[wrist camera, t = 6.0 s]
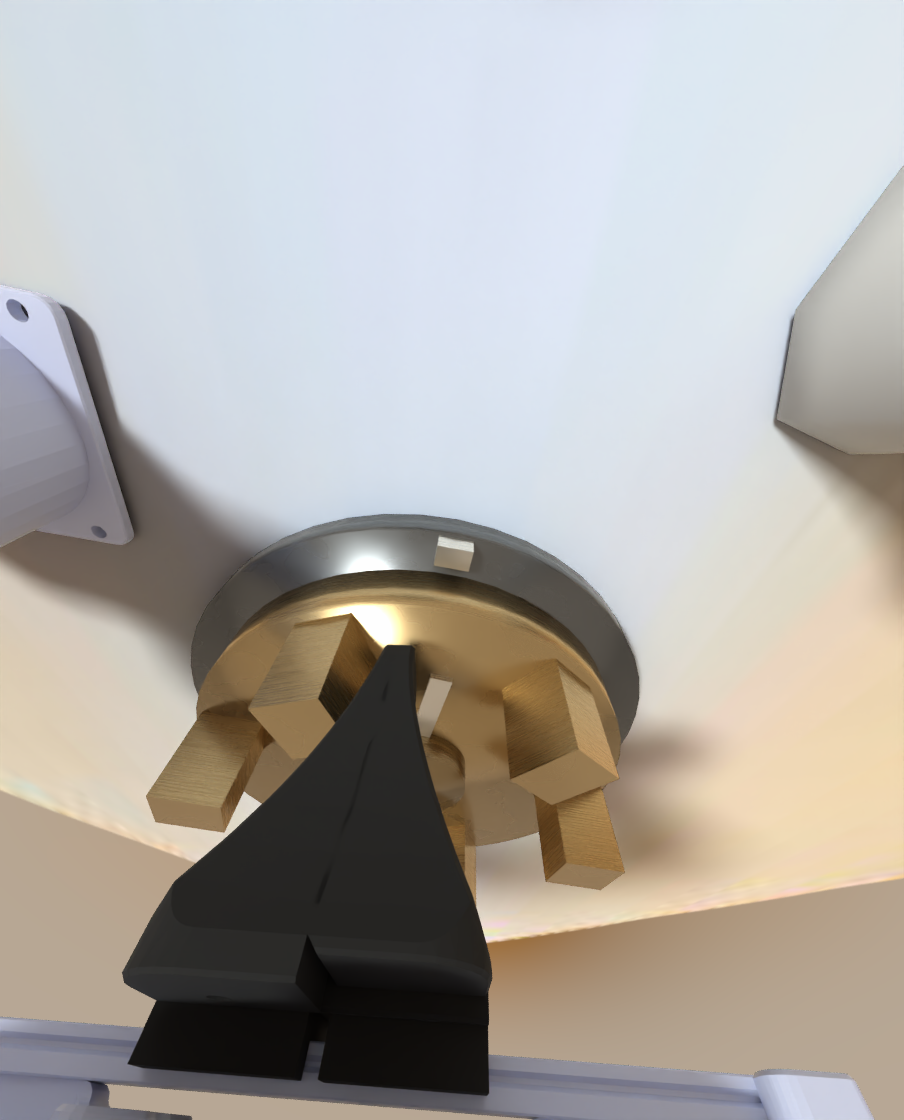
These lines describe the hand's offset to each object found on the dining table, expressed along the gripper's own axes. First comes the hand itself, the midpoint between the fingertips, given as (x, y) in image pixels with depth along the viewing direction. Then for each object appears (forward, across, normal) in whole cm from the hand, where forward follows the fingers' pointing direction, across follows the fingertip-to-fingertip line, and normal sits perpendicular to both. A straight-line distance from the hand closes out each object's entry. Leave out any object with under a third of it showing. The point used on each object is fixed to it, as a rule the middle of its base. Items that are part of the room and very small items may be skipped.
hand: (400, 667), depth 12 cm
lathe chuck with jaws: (+3, 0, +7) cm, 8 cm away
